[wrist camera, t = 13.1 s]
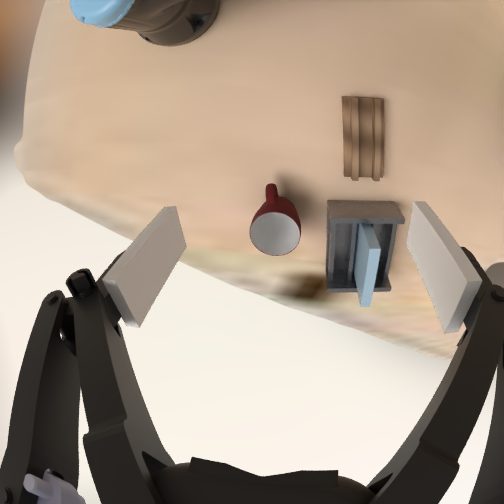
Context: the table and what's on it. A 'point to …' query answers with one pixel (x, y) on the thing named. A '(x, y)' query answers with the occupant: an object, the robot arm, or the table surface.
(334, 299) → the table surface
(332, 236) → the rack
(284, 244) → the mug
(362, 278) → the light blue slab
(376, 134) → the stand
